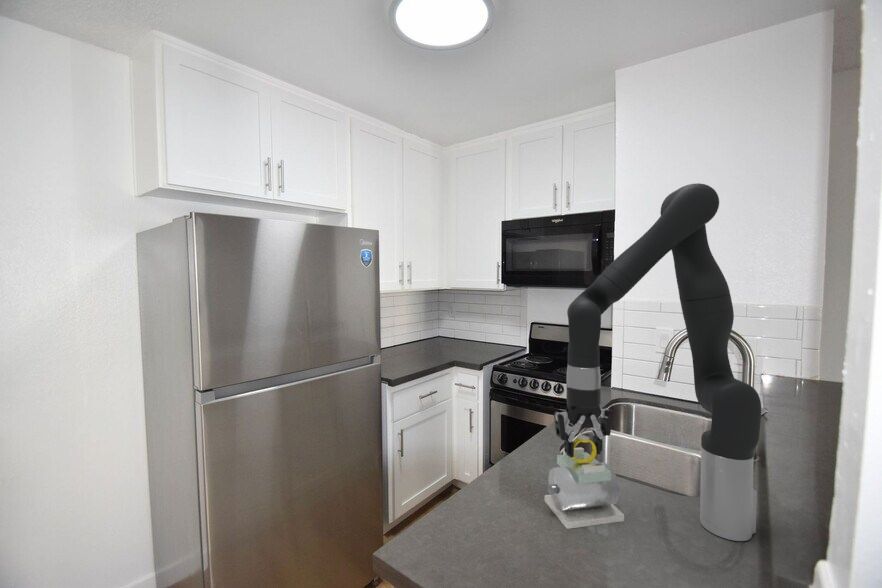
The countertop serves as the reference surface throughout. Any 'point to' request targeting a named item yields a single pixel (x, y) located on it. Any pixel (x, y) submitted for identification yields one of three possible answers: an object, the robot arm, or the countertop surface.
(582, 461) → the yellow watch
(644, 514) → the countertop surface
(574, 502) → the motor
